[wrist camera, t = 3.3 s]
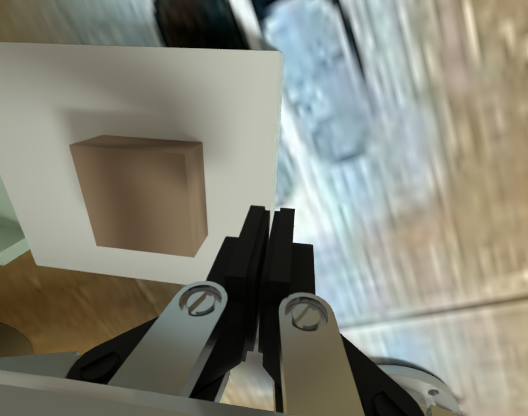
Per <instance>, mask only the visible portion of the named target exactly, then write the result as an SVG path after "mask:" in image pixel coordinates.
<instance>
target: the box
mask: <svg viewBox="0 0 528 416" xmlns="http://www.w3.org/2000/svg"><path fill="white" fill-rule="evenodd" d="M29 249H30V248H29V245H28V243H27V240H26V238H25V235H24V233H23V230H22V228H21V225H20V223H19V220H18V218H17V216H16V213H15V211H14V208H13V206H12V203H11V201H10V198H9V196H8V193H7V191H6V188H5V186H4V183H3V181H2V178H1V176H0V265H6V264H7V263H9V262H11V261H12V260H14V259H15V258H17V257H18V256H20V255H22V254H23V253H25V252H26V251H28V250H29Z"/></svg>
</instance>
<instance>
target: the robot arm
mask: <svg viewBox="0 0 528 416" xmlns="http://www.w3.org/2000/svg"><path fill="white" fill-rule="evenodd" d="M294 214H295V209H290V208H280V211H274V216H273V221H272V226H271V231H270V210H265V206H256V205H251V206H250V208H249V211H248V213H247V216H246V219H245V221H244V224H243V227H242V229H241V232H240V235H239V237H231V236H226V237H225V239H224V241H223V243H222V245H221V248H220V250H219V252H218V254H217V256H216V259H215V261H214V263H213V265H212V267H211V270H210V272H209V274H208V276H207V279H206V281H199V282H195V283H191V284H189V285H187V286H185V287H184V288H182V289H181V290H180V291H179V292H178V293H177V294H176V295H175V297H174V298H173V299H172V301H171V302H170V303H169V304H168V306H167V307H166V308H165V310H164V311H163V312H162V314H161V315H160V316H159V317H157V318H154V319H152V320H150V321H148V322H146V323H144V324H142V325H140V326H138V327H136V328H134V329H131V330H129V331H127V332H125V333H123V334H121V335H119V336H117V337H115V338H113V339H111V340H109V341H106V342H104V343H102V344H100V345H98V346H96V347H94V348H93V349H91V350H89V351H88V352H86V353H85V354H83V355H79V354H78V351H75V352H62V353H50V354H37V355H24V356H12V357H1V358H0V416H461V411H460V408H459V406H458V403H457V401H456V398H455V397H454V395H453V393H452V391H451V390H450V389H449V388H448V387H447V386H446V385H445V384H444V383H443V382H441V381H440V380H438V379H437V378H435V377H434V376H431V375H429V374H427V373H425V372H422V371H420V370H416V369H413V368H409V367H404V366H397V365H376V364H375V363H374V362H372V361H371V360H370V359H369V358H368V357H367V356H366V355H364V354H363V353H362V352H361V351H360V350H359V349H358V348H356V347H355V346H354V345H353V344H352V343H351V342H350V341H348V340H347V339H346V338H345V337H344V336H343V335H342V334H340V332H339V329H338V325H337V322H336V319H335V315H334V312H333V310H332V308H331V306H330V305H329V304H328V303H327V302H326V301H325V300H323V299H322V298H320V297H319V296H316V295H315V274H314V253H313V245H311V244H301V243H293V229H294ZM269 231H270V236H269ZM259 316H260V317H259ZM258 322H259V345H258V352H260V353H263V367H264V368H265V370H266V371H267V372H268V373H269V375H270V376H271V377H272V379H273V401H274V412H273V411H267V410H260V409H254V408H248V407H242V406H236V405H229V404H223V403H219V402H220V400H221V397H222V395H223V392H224V389H225V387H226V384H227V382H228V379H229V375H230V370H231V369H232V368H234V367H235V366H237V365H238V364H240V363H241V361H243V362H245V359H246V354H247V351H253V350H254V345H255V339H256V333H257V328H258Z"/></svg>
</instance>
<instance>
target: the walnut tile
mask: <svg viewBox="0 0 528 416" xmlns="http://www.w3.org/2000/svg"><path fill="white" fill-rule="evenodd" d="M69 147H70V151H71V154H72V158H73V162H74V165H75V169H76V173H77V176H78V180H79V184H80V187H81V191H82V195H83V198H84V202H85V205H86V209H87V213H88V216H89V220H90V224H91V227H92V231H93V235H94V238H95V242H96V246H101V247H109V248H118V249H126V250H134V251H143V252H151V253H159V254H168V255H176V256H185V257H193V258H194V257H195V255H196V254H197V252H198V250H199V249H200V247H201V246H202V244H203V242H204V241H205V239H206V237H207V236H208V224H207V208H206V191H205V175H204V158H203V142H194V141H180V140H166V139H152V138H138V137H124V136H110V135H100V136H97V137H94V138H90V139H87V140H84V141H80V142H77V143H74V144H70V145H69Z"/></svg>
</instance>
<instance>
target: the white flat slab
mask: <svg viewBox="0 0 528 416" xmlns="http://www.w3.org/2000/svg"><path fill="white" fill-rule="evenodd" d="M283 71H284V54H283V53H281V52H280V51H258V50H227V49H197V48H167V47H136V46H106V45H76V44H45V43H15V42H0V176H1V178H2V181H3V183H4V186H5V188H6V191H7V193H8V196H9V198H10V201H11V203H12V206H13V208H14V211H15V213H16V216H17V218H18V220H19V223H20V225H21V228H22V230H23V233H24V235H25V238H26V240H27V243H28V245H29V248H30V250H31V253H32V255H33V258H34V260H35V263H36V265H39V266H46V267H54V268H61V269H69V270H77V271H84V272H92V273H99V274H107V275H115V276H122V277H130V278H137V279H145V280H153V281H160V282H168V283H176V284H183V285H189V284H191V283H195V282H199V281H206V279H207V276H208V274H209V272H210V270H211V267H212V265H213V263H214V261H215V259H216V256H217V254H218V252H219V250H220V248H221V245H222V243H223V241H224V239H225V237H226V236H231V237H239V235H240V232H241V229H242V227H243V224H244V221H245V219H246V216H247V213H248V211H249V208H250V206H251V205H256V206H265V210H270V231H271V226H272V221H273V216H274V211H275V202H276V186H277V170H278V153H279V137H280V120H281V104H282V87H283ZM100 135H110V136H124V137H138V138H152V139H166V140H180V141H194V142H203V158H204V175H205V191H206V208H207V224H208V236H207V237H206V239H205V241H204V242H203V244H202V246H201V247H200V249H199V250H198V252H197V254H196V255H195V257H194V258H193V257H185V256H176V255H168V254H159V253H151V252H143V251H134V250H126V249H118V248H109V247H101V246H96V242H95V238H94V235H93V231H92V227H91V224H90V220H89V216H88V213H87V209H86V205H85V202H84V198H83V195H82V191H81V187H80V184H79V180H78V176H77V173H76V169H75V165H74V162H73V158H72V154H71V151H70V147H69V145H70V144H74V143H77V142H80V141H84V140H87V139H90V138H94V137H97V136H100ZM270 231H269V236H270Z"/></svg>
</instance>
